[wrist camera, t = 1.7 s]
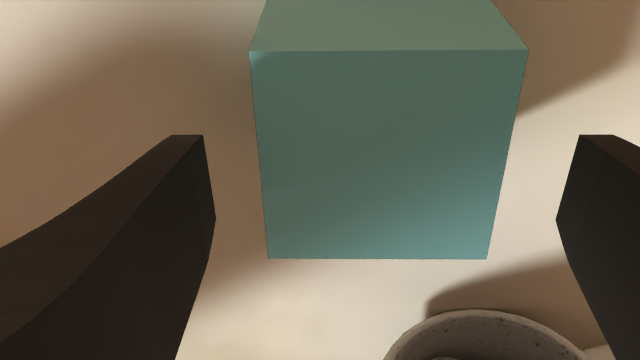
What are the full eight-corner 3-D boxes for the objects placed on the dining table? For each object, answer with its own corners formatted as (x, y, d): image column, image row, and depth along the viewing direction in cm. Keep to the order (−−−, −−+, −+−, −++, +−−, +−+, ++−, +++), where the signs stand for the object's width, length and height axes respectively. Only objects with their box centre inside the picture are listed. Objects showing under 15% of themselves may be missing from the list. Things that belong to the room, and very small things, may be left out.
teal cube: (450, 146, 17) (486, 259, 13) (285, 147, 17) (268, 258, 13) (472, -24, 14) (528, 49, 10) (274, -22, 14) (248, 51, 10)
